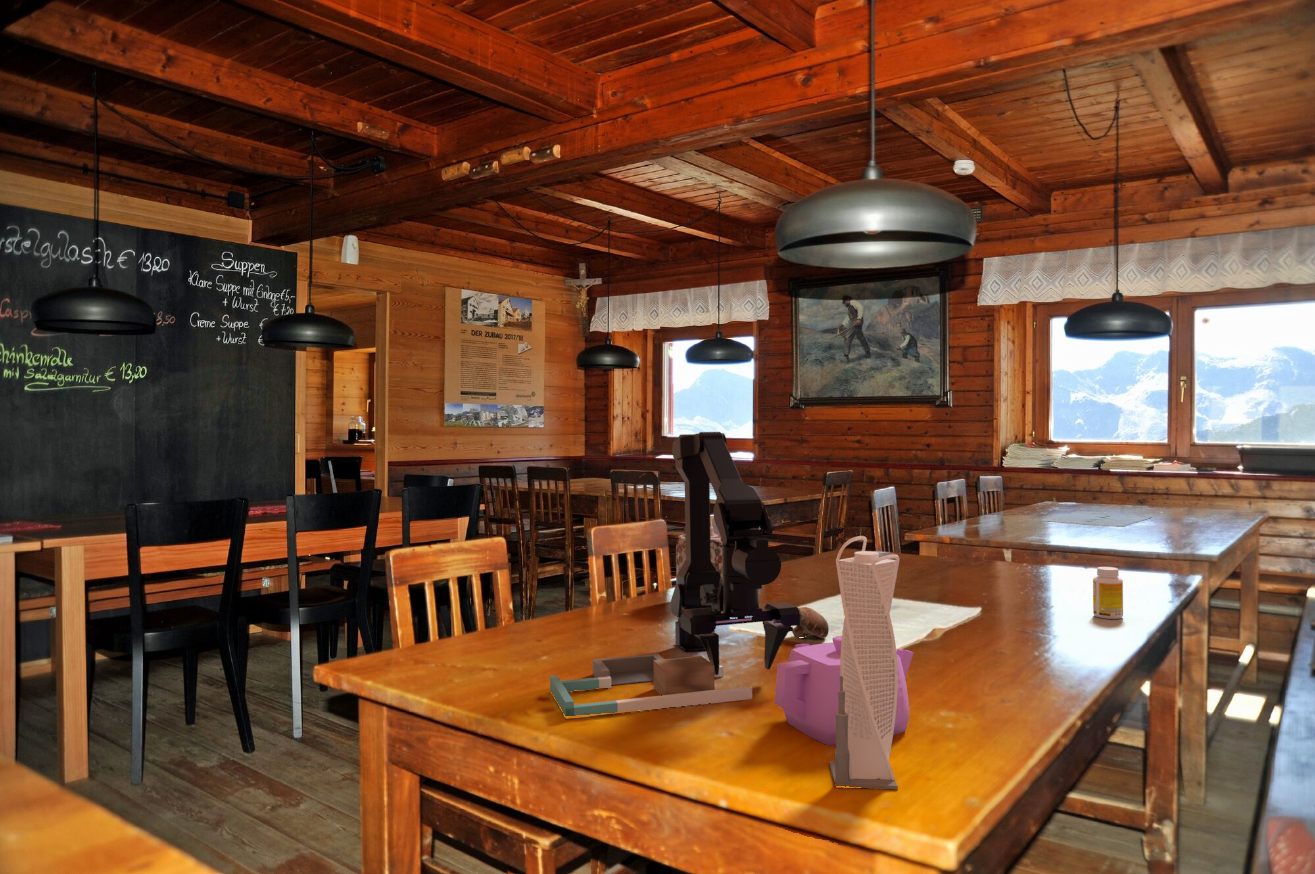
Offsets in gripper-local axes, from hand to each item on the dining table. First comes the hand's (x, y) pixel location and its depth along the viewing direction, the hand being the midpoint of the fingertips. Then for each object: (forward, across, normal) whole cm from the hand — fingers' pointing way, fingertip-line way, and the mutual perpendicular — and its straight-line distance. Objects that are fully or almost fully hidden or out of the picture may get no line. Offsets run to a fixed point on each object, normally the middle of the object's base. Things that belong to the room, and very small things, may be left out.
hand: (741, 671), depth 139 cm
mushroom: (+3, -24, -24) cm, 34 cm away
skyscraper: (+2, -1, +37) cm, 37 cm away
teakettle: (+3, -7, +21) cm, 22 cm away
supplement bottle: (+3, -90, -18) cm, 92 cm away
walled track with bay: (+2, +15, -4) cm, 16 cm away
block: (+2, +10, 0) cm, 10 cm away
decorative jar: (+2, -16, -60) cm, 62 cm away
